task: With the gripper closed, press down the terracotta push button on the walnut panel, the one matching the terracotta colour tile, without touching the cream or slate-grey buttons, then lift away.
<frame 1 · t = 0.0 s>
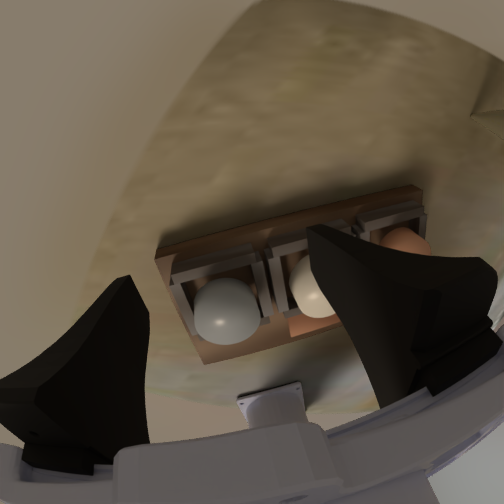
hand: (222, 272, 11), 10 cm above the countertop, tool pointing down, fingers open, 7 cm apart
terracotta button: (403, 258, 21), point 4 cm above the countertop, slide at 0.0 cm
button panel: (306, 275, 25), on the countertop
slate button: (226, 312, 20), point 4 cm above the countertop, slide at 0.0 cm
ice cream cone: (470, 115, 20), on the countertop
cream button: (322, 284, 20), point 4 cm above the countertop, slide at 0.0 cm
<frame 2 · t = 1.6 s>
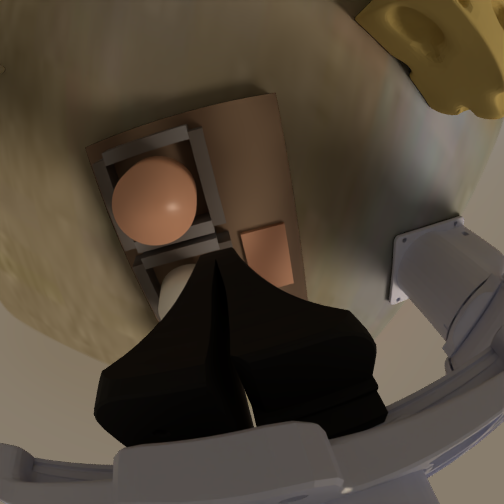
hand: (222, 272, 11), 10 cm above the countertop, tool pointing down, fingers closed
terracotta button: (155, 199, 15), point 4 cm above the countertop, slide at 0.0 cm
button panel: (218, 260, 22), on the countertop
cheese: (418, 30, 15), on the countertop
ice cream cone: (4, 70, 12), on the countertop
cream button: (193, 301, 18), point 4 cm above the countertop, slide at 0.0 cm
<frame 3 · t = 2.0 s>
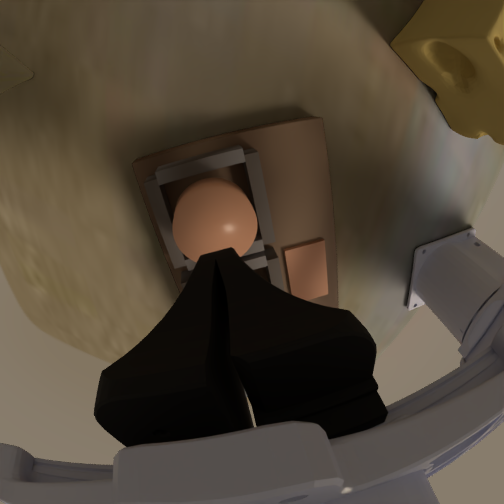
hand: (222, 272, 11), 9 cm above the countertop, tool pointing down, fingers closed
terracotta button: (214, 221, 16), point 4 cm above the countertop, slide at 0.0 cm
button panel: (258, 274, 23), on the countertop
slate button: (260, 374, 23), point 4 cm above the countertop, slide at 0.0 cm
cheese: (443, 54, 16), on the countertop
ice cream cone: (32, 75, 13), on the countertop
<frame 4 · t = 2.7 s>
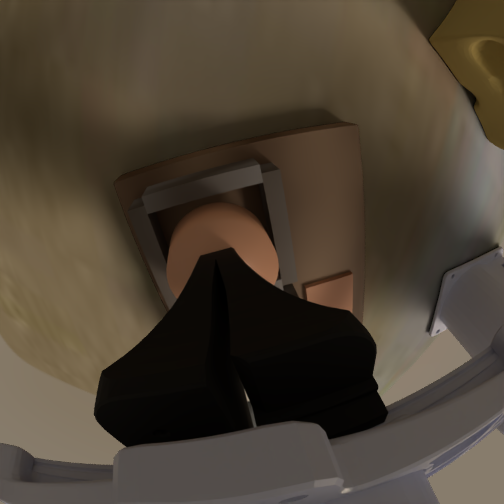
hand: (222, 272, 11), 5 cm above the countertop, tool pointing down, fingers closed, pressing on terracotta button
terracotta button: (221, 260, 12), point 4 cm above the countertop, slide at 0.2 cm, touching gripper
button panel: (272, 310, 19), on the countertop
slate button: (272, 418, 19), point 4 cm above the countertop, slide at 0.0 cm
cheese: (481, 55, 13), on the countertop
cream button: (254, 366, 16), point 4 cm above the countertop, slide at 0.0 cm
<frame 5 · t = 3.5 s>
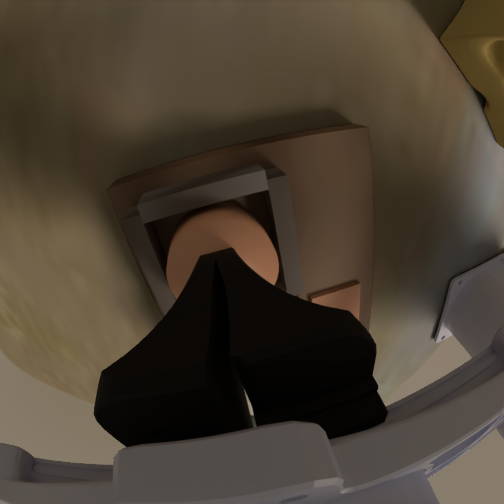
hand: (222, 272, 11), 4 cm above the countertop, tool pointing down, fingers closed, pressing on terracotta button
terracotta button: (221, 260, 12), point 3 cm above the countertop, slide at 1.2 cm, touching gripper
button panel: (275, 320, 18), on the countertop
slate button: (275, 429, 18), point 4 cm above the countertop, slide at 0.0 cm
cheese: (490, 56, 12), on the countertop
cream button: (257, 380, 15), point 4 cm above the countertop, slide at 0.0 cm
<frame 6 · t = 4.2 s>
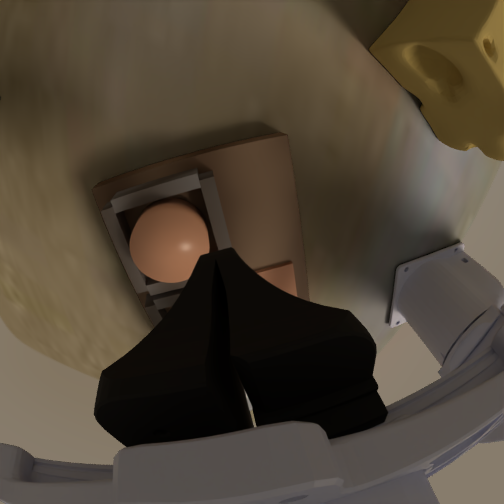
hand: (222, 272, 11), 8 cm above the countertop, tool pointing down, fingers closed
terracotta button: (170, 240, 16), point 3 cm above the countertop, slide at 1.2 cm
button panel: (227, 295, 22), on the countertop
slate button: (231, 393, 22), point 4 cm above the countertop, slide at 0.0 cm
cheese: (431, 58, 16), on the countertop
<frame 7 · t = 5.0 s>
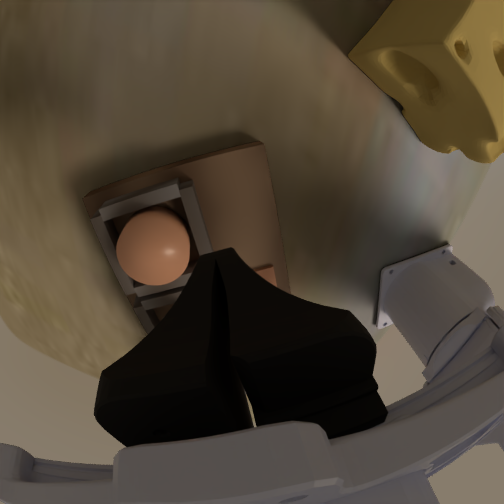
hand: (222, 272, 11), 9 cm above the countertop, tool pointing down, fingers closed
terracotta button: (154, 246, 17), point 3 cm above the countertop, slide at 1.2 cm
button panel: (212, 296, 23), on the countertop
cheese: (414, 61, 17), on the countertop
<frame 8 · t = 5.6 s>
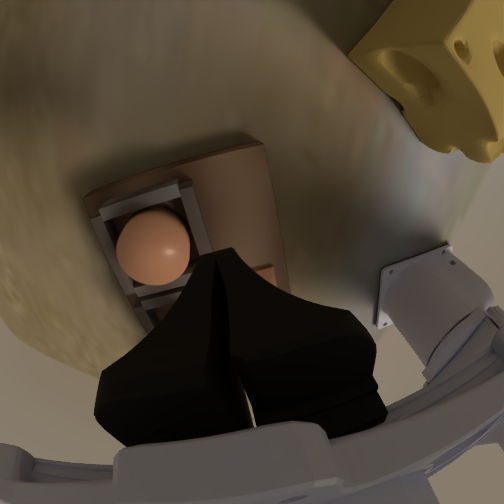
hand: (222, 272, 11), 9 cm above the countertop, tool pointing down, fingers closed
terracotta button: (154, 246, 17), point 3 cm above the countertop, slide at 1.2 cm
button panel: (212, 296, 23), on the countertop
cheese: (414, 61, 17), on the countertop
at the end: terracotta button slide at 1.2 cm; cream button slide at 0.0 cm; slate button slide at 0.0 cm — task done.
